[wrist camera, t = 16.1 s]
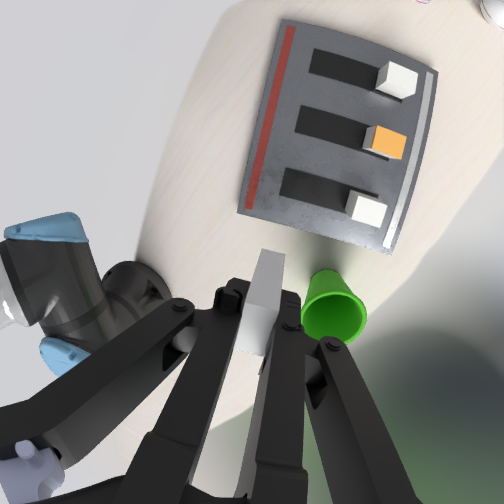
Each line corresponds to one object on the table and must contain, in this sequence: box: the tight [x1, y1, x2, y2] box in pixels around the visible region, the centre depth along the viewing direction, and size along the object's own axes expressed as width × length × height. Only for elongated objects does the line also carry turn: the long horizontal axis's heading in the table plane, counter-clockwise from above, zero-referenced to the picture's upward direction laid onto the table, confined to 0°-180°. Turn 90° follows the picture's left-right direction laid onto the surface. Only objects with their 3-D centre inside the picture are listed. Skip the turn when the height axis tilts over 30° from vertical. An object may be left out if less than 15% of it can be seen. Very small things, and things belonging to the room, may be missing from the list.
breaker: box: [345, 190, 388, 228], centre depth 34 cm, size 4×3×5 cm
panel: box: [237, 19, 438, 255], centre depth 35 cm, size 24×30×2 cm
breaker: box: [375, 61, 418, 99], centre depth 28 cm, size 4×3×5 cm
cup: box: [301, 269, 367, 344], centre depth 39 cm, size 9×9×11 cm
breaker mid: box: [362, 125, 407, 159], centre depth 31 cm, size 4×3×5 cm
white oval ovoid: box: [480, 0, 504, 30], centre depth 18 cm, size 10×7×7 cm
